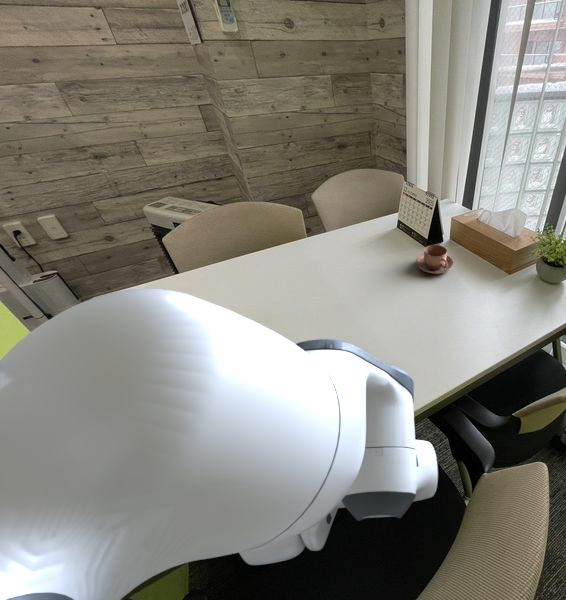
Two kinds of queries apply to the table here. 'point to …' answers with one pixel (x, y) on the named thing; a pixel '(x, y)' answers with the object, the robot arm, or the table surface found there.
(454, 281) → the table surface
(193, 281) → the table surface
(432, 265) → the cup and saucer
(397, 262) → the table surface
